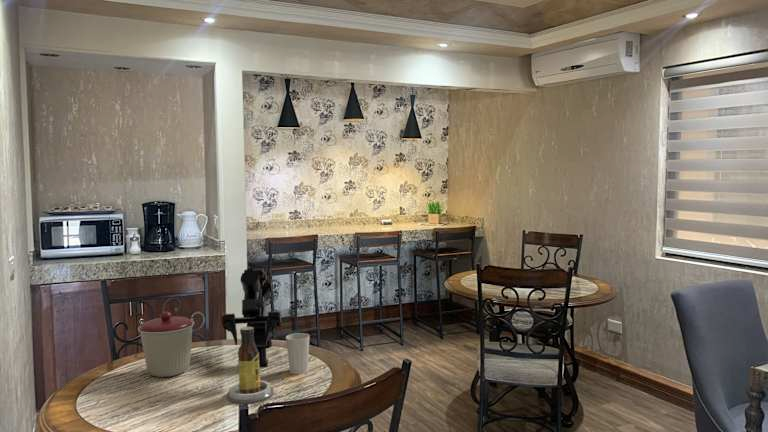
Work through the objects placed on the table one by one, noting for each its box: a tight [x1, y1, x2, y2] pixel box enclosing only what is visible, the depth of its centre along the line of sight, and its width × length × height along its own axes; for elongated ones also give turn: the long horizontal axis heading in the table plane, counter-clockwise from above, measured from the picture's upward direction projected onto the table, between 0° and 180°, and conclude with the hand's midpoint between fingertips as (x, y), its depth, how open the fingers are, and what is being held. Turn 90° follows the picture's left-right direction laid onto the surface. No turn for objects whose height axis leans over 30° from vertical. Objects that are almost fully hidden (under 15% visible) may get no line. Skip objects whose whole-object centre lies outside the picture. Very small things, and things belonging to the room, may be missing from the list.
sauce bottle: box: [237, 326, 261, 394], centre depth 182 cm, size 6×6×20 cm
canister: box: [137, 311, 195, 378], centre depth 203 cm, size 18×18×21 cm
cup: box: [285, 332, 310, 375], centre depth 202 cm, size 8×8×12 cm
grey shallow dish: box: [226, 379, 275, 405], centre depth 182 cm, size 14×14×2 cm
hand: (250, 343), depth 189 cm, fingers open, 9 cm apart
